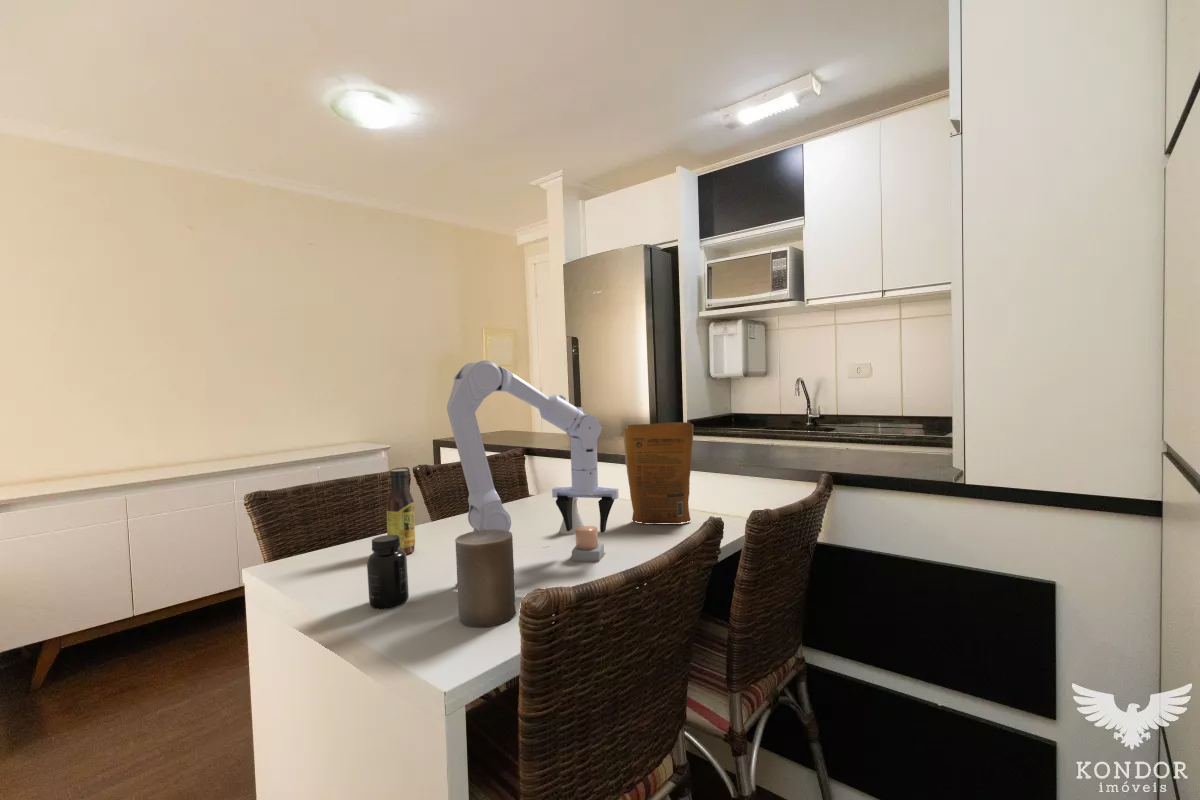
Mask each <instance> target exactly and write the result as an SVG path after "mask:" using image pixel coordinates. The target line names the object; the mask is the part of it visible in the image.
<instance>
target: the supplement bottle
mask: <svg viewBox="0 0 1200 800" xmlns="http://www.w3.org/2000/svg"><path fill="white" fill-rule="evenodd" d="M399 547H400V537H399V536H397V535H387V534H385V535H380V536H376V537H373V538H372V539H371V551H372V553H371V554H370V555H369V556H368V557H367V560H366V569H367V572H366V573H367V587H368V601H369V605H370V607H371V608H372V609H375V610H389V609H395V608H397V607H400V606H402V605H404V604H405V603H406V602H408V600H409V598H410V597H409V595H410V594H409V575H408V574H409V573H408V559H407V554H406V553H405V552H404V551H403V550H401V549H399Z"/></svg>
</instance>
